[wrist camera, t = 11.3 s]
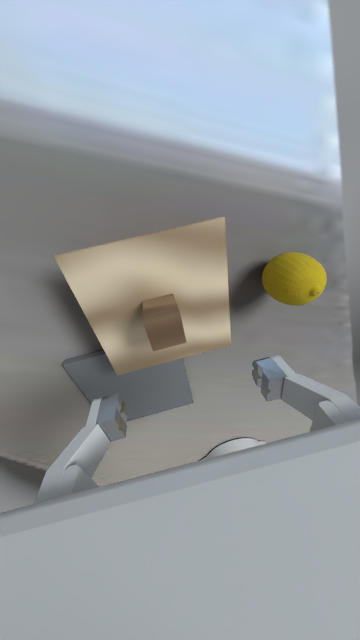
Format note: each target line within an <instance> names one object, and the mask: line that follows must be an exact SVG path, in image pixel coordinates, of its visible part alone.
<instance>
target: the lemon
mask: <svg viewBox="0 0 360 640" xmlns="http://www.w3.org/2000/svg"><path fill="white" fill-rule="evenodd" d="M326 279H327V278H326V272H325V270H324V268H323V267H322V265H321V264H320V263H319V262H317V261H316V260H315V259H313V258H312V257H310V256H308V255H305V254H302V253H297V252H290V253H283V254H280V255H278V256H276V257H274V258H273V259H272V260H270V261H269V262H268V264H267V265H266V266H265V268H264V270H263V274H262V283H263V287H264V288H265V290H266V292H267V293H268V294H269V295H270V296H271V297H273V298H274V299H275V300H277V301H279V302H282V303H285V304H288V305H304V304H307V303H309V302H312V301H313V300H315V299H316V298H317V297H318V296H320V294H321V293H322V292H323V290H324V288H325V285H326Z"/></svg>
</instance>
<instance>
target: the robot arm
mask: <svg viewBox="0 0 360 640" xmlns="http://www.w3.org/2000/svg"><path fill="white" fill-rule="evenodd" d="M253 367H254V369H253V371H252V375H253V379H254V381H255V383H256V385H257V386H258V387H260V388H261V393H262V395H263V396H264V398H265V399H266V401H272V400H276V399H282V400H283V401H285V402H286V403H287V404H289V405H290V406H292V407H293V408H295V409H296V410H298V411H299V412H301V413H302V414H304V415H305V416H307V417H308V418H310V419H311V420H313V422H312V425H311V428H310V432H308V433H304V434H300V435H296V436H293V437H289V438H285V439H281V440H277V441H274V442H270V443H266V442H262V441H256V440H254V439H250V438H242V439H236V440H232V441H229V442H226V443H224V444H222V445H220V446H218V447H216V448H215V449H214V450H212V451H211V452H210V453H209V454H208V455H207V456H206V457H205V458H203V459H202V460H200V461H197V462H193V463H189V464H186V465H182V466H178V467H174V468H170V469H167V470H163V471H159V472H155V473H151V474H147V475H144V476H140V477H136V478H132V479H128V480H125V481H121V482H117V483H113V484H109V485H106V486H102V487H99V486H98V485H97V484H96V483H95V482H94V481H93V480H92V479H91V477H92V475H93V474H94V472H95V470H96V468H97V466H98V465H99V463H100V461H101V459H102V458H103V456H104V454H105V452H106V451H107V449H108V447H109V445H110V443H111V441H114V440H118V439H121V438H125V437H126V428H127V425H126V423H125V421H126V419H127V416H128V411H127V406H126V403H125V402H124V401H122V396H121V394H116V395H112V396H107V397H102V398H98V399H94V400H93V402H92V404H91V408H90V412H89V415H88V419H87V422H86V426H85V427H83V428H82V429H81V430H80V431H79V433H78V434H77V435H76V436H75V437H74V439H73V440H72V441H71V442H70V443H69V445H68V446H67V447H66V448H65V449H64V451H63V452H62V453H61V454H60V456H59V457H58V458H57V459H56V460H55V462H54V463H53V464H52V465H51V466H50V468H49V469H48V470H47V471H46V474H45V477H44V479H43V482H42V485H41V487H40V490H39V493H38V495H37V498H36V501H35V503H34V504H33V505H29V506H26V507H22V508H18V509H14V510H10V511H7V512H2V513H0V640H360V408H359V407H358V406H357V405H356V404H355V403H354V402H353V401H352V400H351V399H350V398H349V397H348V396H347V395H345V394H343V393H341V392H339V391H336V390H334V389H332V388H330V387H327V386H325V385H323V384H321V383H318V382H316V381H314V380H311V379H309V378H307V377H305V376H302V375H300V374H295V372H294V371H293V370H292V369H291V368H290V367H289V366H288V365H287V364H286V362H285V361H284V360H283V359H282V358H281V357H280V356H279V355H275V356H271V357H267V358H263V359H259V360H255V361H253Z"/></svg>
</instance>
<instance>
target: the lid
mask: <svg viewBox="0 0 360 640" xmlns="http://www.w3.org/2000/svg"><path fill="white" fill-rule="evenodd" d="M54 258H55V260H56V262H57V263H58V265H59V267H60V269H61V271H62V273H63V275H64V277H65V278H66V280H67V282H68V284H69V286H70V288H71V290H72V291H73V293H74V295H75V297H76V299H77V301H78V303H79V305H80V306H81V308H82V310H83V312H84V314H85V316H86V318H87V319H88V321H89V323H90V325H91V327H92V329H93V331H94V333H95V334H96V336H97V338H98V340H99V342H100V344H101V346H102V347H103V349H104V351H105V353H106V355H107V357H108V359H109V361H110V362H111V364H112V366H113V368H114V370H115V372H116V374H117V375H121V374H125V373H128V372H132V371H136V370H140V369H143V368H147V367H151V366H155V365H159V364H162V363H166V362H170V361H174V360H177V359H181V358H185V357H189V356H193V355H196V354H200V353H204V352H208V351H211V350H215V349H219V348H223V347H227V346H230V345H231V332H230V312H229V292H228V272H227V252H226V232H225V217H219V218H214V219H210V220H205V221H201V222H197V223H192V224H188V225H184V226H179V227H175V228H171V229H166V230H162V231H158V232H153V233H149V234H145V235H140V236H136V237H131V238H127V239H123V240H118V241H114V242H110V243H105V244H101V245H97V246H92V247H88V248H84V249H79V250H75V251H70V252H66V253H62V254H57V255H55V256H54Z"/></svg>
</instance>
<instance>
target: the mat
mask: <svg viewBox="0 0 360 640" xmlns="http://www.w3.org/2000/svg"><path fill="white" fill-rule="evenodd" d="M63 366H64V368H65V369H66V370H67V372H68V373H69V374H70V376H71V377H72V379H73V380H74V381H75V383H76V384H77V385H78V387H79V388H80V389H81V391H82V392H83V393H84V395H85V396H86V398H87V399H88V400H89V402H90V403H91V404H92V402H93V400H94V399H98V398H102V397H107V396H112V395H116V394H121V396H122V401H124V402H125V403H126V406H127V411H128V416H127V419H126V421H130V420H134V419H137V418H141V417H144V416H148V415H152V414H155V413H159V412H162V411H166V410H170V409H173V408H177V407H180V406H184V405H188V404H191V403H193V399H192V395H191V391H190V387H189V382H188V378H187V374H186V370H185V366H184V362H183V358H181V359H177V360H174V361H170V362H166V363H162V364H159V365H155V366H151V367H147V368H143V369H140V370H136V371H132V372H128V373H125V374H121V375H117V374H116V372H115V370H114V368H113V366H112V364H111V362H110V361H109V359H108V357H107V355H106V353H105V351H104V350H102V351H98V352H94V353H90V354H86V355H82V356H78V357H75V358H71V359H67V360H65V361H64V363H63ZM126 421H125V422H126Z"/></svg>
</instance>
